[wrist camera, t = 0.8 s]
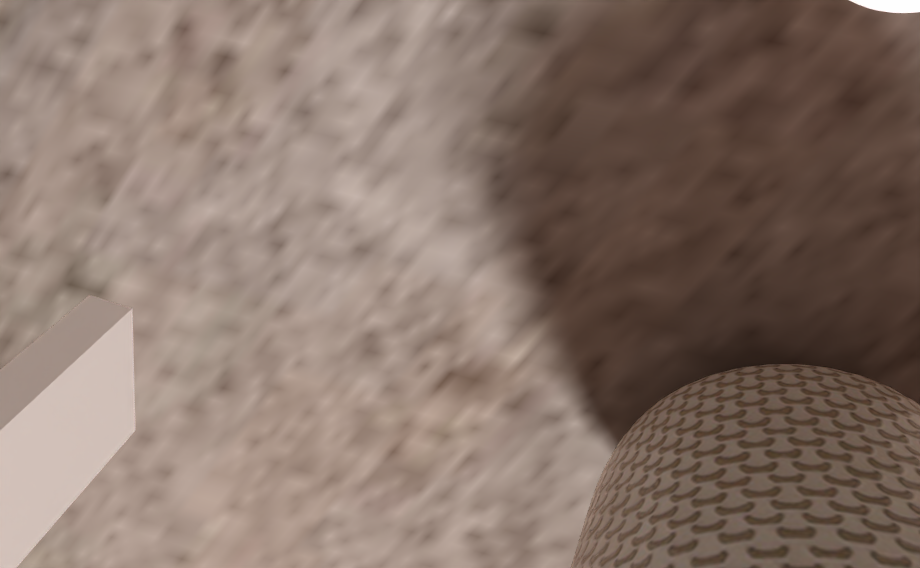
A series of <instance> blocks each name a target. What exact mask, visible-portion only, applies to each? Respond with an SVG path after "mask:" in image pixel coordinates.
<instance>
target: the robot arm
mask: <svg viewBox="0 0 920 568" xmlns="http://www.w3.org/2000/svg"><path fill="white" fill-rule="evenodd" d="M134 431H135V395H134V355H133V314H132V308H130V307H127V306H123V305H120V304H117V303H114V302H111V301H107V300H104V299H101V298H98V297H95V296H91V295H89V296H88V297H87V298H85V299H84V300H83V301H82V302H81V303H79V304H78V305H77V306H76V307H75V308H74V309H72V310H71V311H70V312H69V313H68V314H66V315H65V316H64V317H63V318H62V319H60V320H59V321H58V322H57V323H56V324H54V325H53V326H52V327H51V328H50V329H48V330H47V331H46V332H45V333H44V334H42V335H41V336H40V337H39V338H38V339H36V340H35V341H34V342H33V343H32V344H30V345H29V346H28V347H27V348H26V349H24V350H23V351H22V352H21V353H20V354H18V355H17V356H16V357H15V358H14V359H13V360H11V361H10V362H9V363H8V364H7V365H5V366H4V367H3V368H2V369H1V370H0V568H16V567H17V566H18V565H19V564H20V563H21V562H22V560H23V559H24V558H25V557H26V556H27V555H28V554H29V552H30V551H31V550H32V549H33V548H34V547H35V545H36V544H37V543H38V542H39V541H40V540H41V539H42V537H43V536H44V535H45V534H46V533H47V532H48V530H49V529H50V528H51V527H52V526H53V525H54V524H55V522H56V521H57V520H58V519H59V518H60V517H61V515H62V514H63V513H64V512H65V511H66V510H67V509H68V507H69V506H70V505H71V504H72V503H73V502H74V501H75V499H76V498H77V497H78V496H79V495H80V494H81V492H82V491H83V490H84V489H85V488H86V487H87V486H88V484H89V483H90V482H91V481H92V480H93V479H94V477H95V476H96V475H97V474H98V473H99V472H100V471H101V469H102V468H103V467H104V466H105V465H106V464H107V463H108V461H109V460H110V459H111V458H112V457H113V456H114V454H115V453H116V452H117V451H118V450H119V449H120V448H121V446H122V445H123V444H124V443H125V442H126V441H127V439H128V438H129V437H130V436H131V435H132V434H133V433H134Z"/></svg>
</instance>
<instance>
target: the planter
mask: <svg viewBox="0 0 920 568" xmlns="http://www.w3.org/2000/svg"><path fill="white" fill-rule="evenodd" d="M571 568H920V404H918V403H917V402H915V401H913V400H912V399H910V398H908V397H906V396H904V395H903V394H901V393H899V392H897V391H896V390H894V389H892V388H890V387H889V386H886V385H884V384H881V383H879V382H876V381H873V380H871V379H868V378H866V377H863V376H861V375H857V374H853V373H849V372H845V371H841V370H837V369H833V368H827V367H819V366H810V365H801V364H766V365H759V366H751V367H743V368H737V369H733V370H729V371H725V372H721V373H717V374H714V375H710V376H707V377H705V378H702V379H700V380H697V381H695V382H692V383H690V384H688V385H685V386H683V387H681V388H680V389H678V390H676V391H675V392H673V393H671V394H669V395H668V396H666V397H664V398H663V399H661V400H660V401H659V402H657V403H656V404H655V405H654V406H653V407H651V408H650V409H649V410H648V411H647V412H645V413H644V414H643V415H642V416H641V417H640V418H639V419H638V420H637V421H636V422H635V423H634V424H633V426H632V427H631V428H630V429H629V430H628V432H627V433H626V434H625V435H624V436H623V437H622V439H621V440H620V442H619V443H618V445H617V447H616V448H615V450H614V452H613V453H612V455H611V457H610V459H609V460H608V462H607V464H606V466H605V468H604V470H603V472H602V474H601V477H600V479H599V481H598V483H597V486H596V489H595V492H594V495H593V497H592V500H591V503H590V507H589V510H588V513H587V516H586V519H585V522H584V526H583V529H582V532H581V536H580V539H579V542H578V546H577V549H576V552H575V555H574V559H573V562H572V565H571Z"/></svg>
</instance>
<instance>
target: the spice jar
mask: <svg viewBox="0 0 920 568" xmlns="http://www.w3.org/2000/svg"><path fill="white" fill-rule="evenodd" d="M849 1H852V2H854V3H856V4H858V5H861V6H864V7H866V8H869V9H873V10H877V11H883V12H891V13H915V12H920V0H849Z"/></svg>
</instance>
